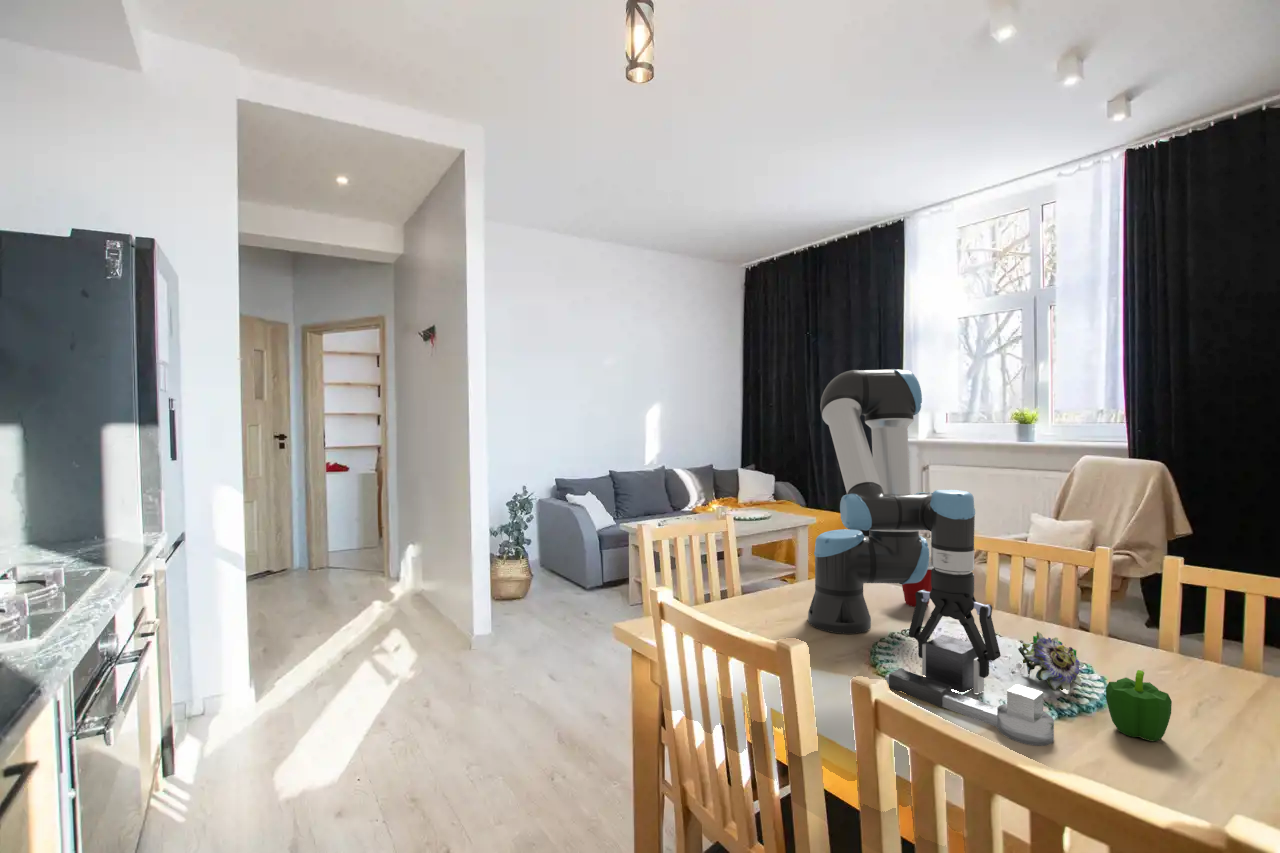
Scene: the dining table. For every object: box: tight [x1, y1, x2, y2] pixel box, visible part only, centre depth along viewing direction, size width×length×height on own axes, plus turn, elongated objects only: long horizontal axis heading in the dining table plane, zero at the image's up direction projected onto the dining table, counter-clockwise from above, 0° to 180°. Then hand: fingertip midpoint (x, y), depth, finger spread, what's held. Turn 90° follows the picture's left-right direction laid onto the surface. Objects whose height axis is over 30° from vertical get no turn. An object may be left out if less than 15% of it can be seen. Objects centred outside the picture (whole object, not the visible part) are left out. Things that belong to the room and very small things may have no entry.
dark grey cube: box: [926, 634, 977, 692], centre depth 120 cm, size 7×7×8 cm
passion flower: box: [1017, 631, 1085, 692], centre depth 120 cm, size 11×11×12 cm
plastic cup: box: [901, 561, 934, 608], centre depth 169 cm, size 11×11×12 cm
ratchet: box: [884, 668, 1055, 747], centre depth 110 cm, size 28×8×7 cm, turn 38°
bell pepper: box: [1105, 669, 1173, 742], centre depth 101 cm, size 8×8×10 cm
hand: (952, 683), depth 120 cm, fingers open, 9 cm apart
